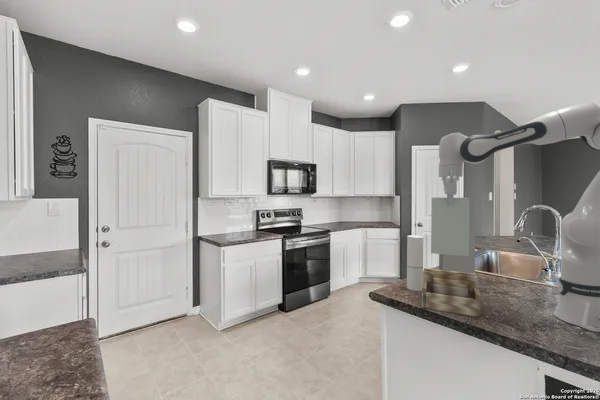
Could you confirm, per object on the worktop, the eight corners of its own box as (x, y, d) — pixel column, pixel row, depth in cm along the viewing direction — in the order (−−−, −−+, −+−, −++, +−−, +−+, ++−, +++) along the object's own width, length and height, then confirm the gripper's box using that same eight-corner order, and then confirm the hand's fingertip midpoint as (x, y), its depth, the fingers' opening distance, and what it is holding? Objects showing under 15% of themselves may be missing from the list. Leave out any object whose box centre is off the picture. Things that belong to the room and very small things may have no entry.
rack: (475, 302, 118) (475, 273, 117) (480, 317, 104) (481, 285, 103) (423, 294, 126) (423, 268, 126) (421, 307, 112) (422, 277, 112)
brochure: (468, 285, 138) (469, 224, 137) (474, 289, 133) (475, 226, 132) (438, 284, 140) (439, 224, 139) (443, 288, 134) (444, 225, 133)
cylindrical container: (421, 286, 137) (422, 235, 136) (424, 291, 130) (424, 237, 129) (406, 285, 139) (406, 235, 138) (407, 290, 132) (408, 237, 131)
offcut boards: (465, 306, 113) (466, 274, 113) (467, 312, 108) (468, 279, 107) (433, 301, 118) (433, 271, 118) (432, 307, 113) (433, 275, 112)
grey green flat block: (468, 255, 116) (469, 197, 116) (468, 256, 115) (469, 197, 114) (431, 252, 122) (431, 197, 122) (431, 253, 121) (431, 197, 120)
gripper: (461, 170, 107) (460, 207, 107) (457, 173, 125) (457, 204, 125) (442, 171, 109) (442, 206, 110) (441, 174, 128) (441, 204, 128)
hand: (450, 205), depth 118 cm, fingers closed on grey green flat block, 2 cm apart
